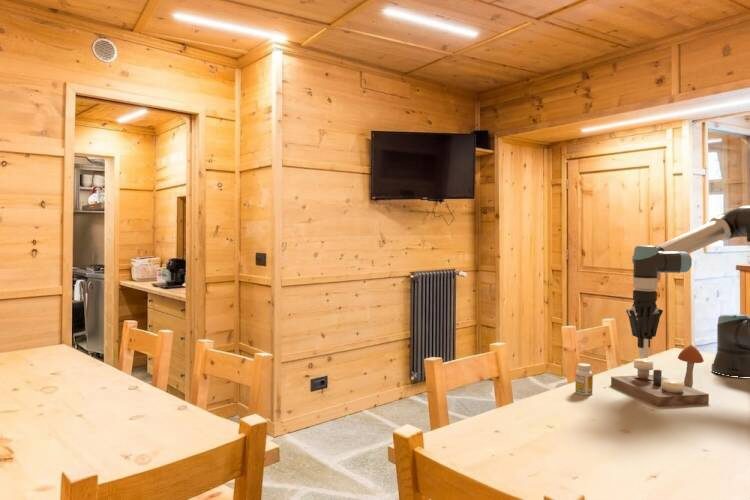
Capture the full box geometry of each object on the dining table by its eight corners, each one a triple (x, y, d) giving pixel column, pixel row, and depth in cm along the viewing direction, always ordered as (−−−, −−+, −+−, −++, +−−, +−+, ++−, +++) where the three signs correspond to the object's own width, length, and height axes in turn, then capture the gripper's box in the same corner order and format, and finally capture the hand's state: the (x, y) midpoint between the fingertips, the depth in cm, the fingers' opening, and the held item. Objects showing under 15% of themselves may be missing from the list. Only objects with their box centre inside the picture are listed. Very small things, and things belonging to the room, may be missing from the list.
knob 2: (673, 395, 176) (673, 379, 176) (687, 401, 170) (687, 384, 170) (657, 396, 175) (657, 380, 175) (670, 402, 169) (671, 385, 169)
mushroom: (708, 390, 183) (709, 347, 183) (684, 390, 183) (685, 347, 183) (694, 384, 191) (695, 342, 191) (672, 383, 191) (673, 342, 191)
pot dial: (657, 383, 181) (658, 368, 180) (662, 385, 178) (663, 370, 178) (651, 384, 180) (651, 368, 180) (656, 386, 178) (656, 370, 178)
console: (655, 382, 193) (656, 374, 193) (708, 403, 169) (708, 394, 169) (611, 385, 189) (611, 376, 189) (658, 406, 166) (658, 397, 166)
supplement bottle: (589, 390, 182) (590, 362, 182) (594, 395, 177) (595, 366, 177) (573, 390, 183) (573, 362, 182) (577, 395, 177) (578, 366, 177)
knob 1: (645, 373, 189) (645, 358, 189) (656, 378, 184) (657, 362, 183) (630, 374, 188) (630, 359, 188) (641, 379, 182) (641, 363, 182)
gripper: (654, 288, 190) (652, 353, 191) (621, 288, 188) (620, 355, 188) (669, 290, 183) (667, 358, 183) (635, 291, 180) (633, 360, 181)
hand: (643, 356), depth 186 cm, fingers closed
